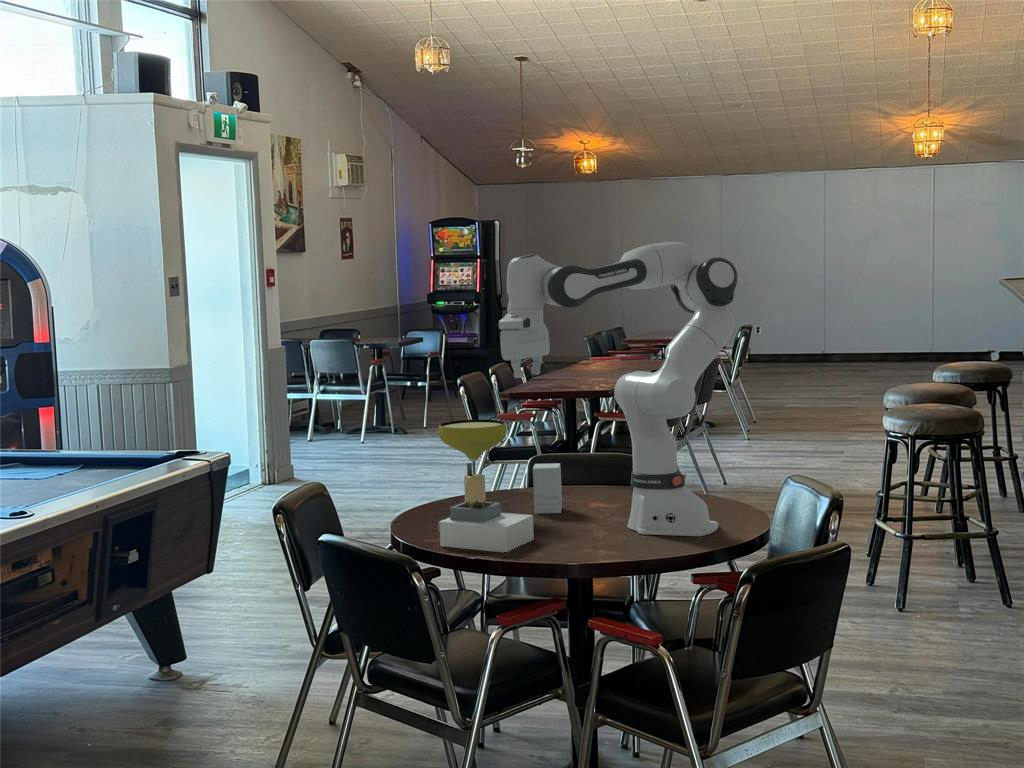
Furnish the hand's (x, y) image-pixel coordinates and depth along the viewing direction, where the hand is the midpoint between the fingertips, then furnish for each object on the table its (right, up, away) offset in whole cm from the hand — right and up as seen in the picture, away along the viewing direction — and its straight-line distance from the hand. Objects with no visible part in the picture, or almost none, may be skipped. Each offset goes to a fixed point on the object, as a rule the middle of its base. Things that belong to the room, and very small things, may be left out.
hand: (527, 375), depth 277 cm
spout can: (-13, -34, -8) cm, 37 cm away
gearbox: (-11, -40, -8) cm, 43 cm away
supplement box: (+6, -37, +26) cm, 45 cm away
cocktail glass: (-14, -38, +23) cm, 46 cm away
